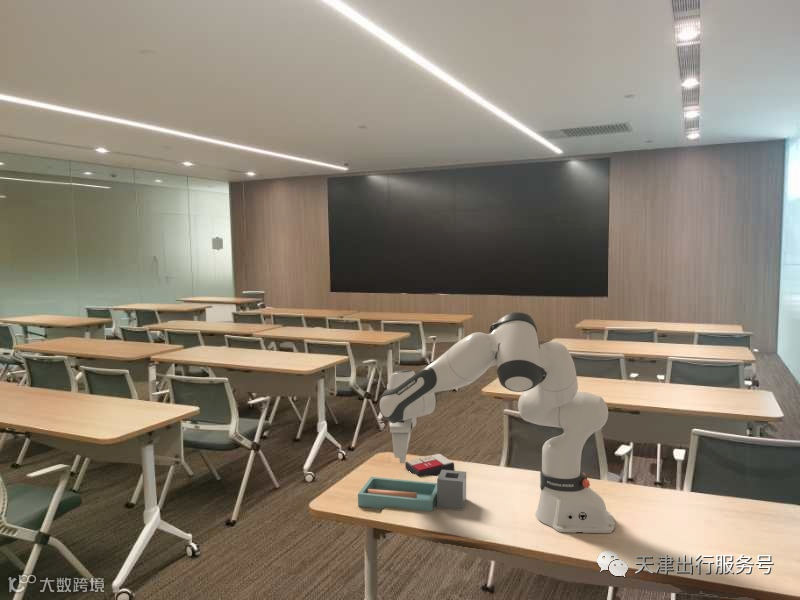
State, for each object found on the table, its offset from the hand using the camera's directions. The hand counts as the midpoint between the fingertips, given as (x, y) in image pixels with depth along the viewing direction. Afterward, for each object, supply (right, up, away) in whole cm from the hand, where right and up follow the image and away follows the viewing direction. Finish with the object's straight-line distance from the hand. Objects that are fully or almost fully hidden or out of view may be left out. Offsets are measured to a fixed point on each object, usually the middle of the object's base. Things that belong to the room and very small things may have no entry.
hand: (402, 461), depth 178 cm
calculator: (+10, -12, +27) cm, 31 cm away
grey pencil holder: (+16, -13, -3) cm, 21 cm away
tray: (-1, -13, +1) cm, 13 cm away
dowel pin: (+4, -11, -1) cm, 12 cm away
